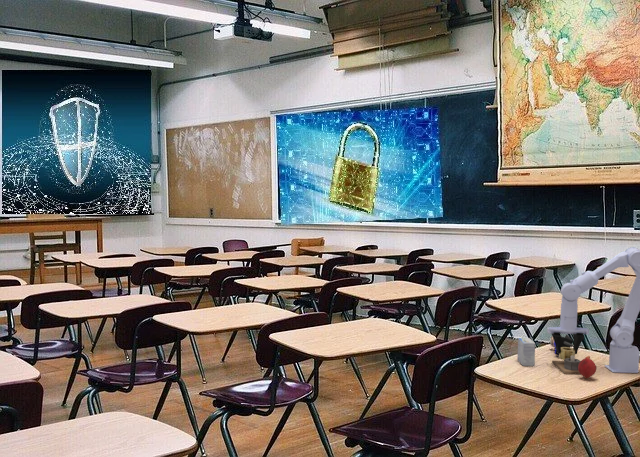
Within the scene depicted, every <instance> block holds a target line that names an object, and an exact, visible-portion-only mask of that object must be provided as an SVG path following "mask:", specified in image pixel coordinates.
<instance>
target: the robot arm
mask: <svg viewBox="0 0 640 457" xmlns="http://www.w3.org/2000/svg"><path fill="white" fill-rule="evenodd" d="M629 267H630V268H631V270H632V271H633V272H634V274H635V276H636V277H635V279H634V282H633V284H632V287H631V290H630V292H629V293H628V294H629V295H628V297H627V300H626V301H625V304H624V307H623V310H622V312H621V315H620V316H619V318H618V319H617V321H616V323H615V324H614V325H613V326H612V327H611V328H610V331H609V335H610V337H611V339H612V340H611V342H610V343H609V357H608V360H609V361H608V364H604V367H605V368H606V369H608V370H609V371H610V372H611V373H620V374H621V373H622V374H623V373H626V374H627V373H629V374H632V373H633V374H639V373H640V371H639V366H640V351H639V348H638V347H637V346H635V345H633V342H634V332H635V328H636V326H635V322H636V321H637V318H638V315H639V313H640V249H639V248H638V247H635V246H631V247H628V248H626V249H625V250H623V251H620V252H619V253H617V254H616V255H615V256H613V257H612V258H610V259H608V261H606V262H604V263H602V265H600V266H599V267H596V269H595V270H593V271H592V270H587V271H585V270H583V271H582V272H580V275H578V276H577V277H576V278H574V279H569V282H566V283H564V284H563V285H562V286H561V289H560V294H561V303H560V320H559V326H550V327H548V326H547V328H546V329H547V330H546V333H547V334H549V335H551V336H553V339H554V341H555V345H556V349H557V354H558V355H559V354H560V353H561V341H562V337H563V336H562V335H563V334H564V335H569V334H570V335H572V336H573V337H572V338H573V339H572V340H573V344H572V345H573V346H572V348H573V349H575V355H577V354H578V351H579V347H580V345H581V344H582V342H583V340H584V339H585V335H588V336H589V335H590V329H589V328H587V327H577V326H578V322H577V321H578V308H579V307H578V299H579V298H580V296H581V294H584V293H585V292H587V291H589V290H590V289H592V288H593V287H594V286H597V284H599V279H600V278H603V277H604V276H606V275H608V274H610V273H611V272H613V271H615V270H616V269H618V268H629ZM638 372H639V373H638Z"/></svg>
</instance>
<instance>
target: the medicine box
mask: <svg viewBox="0 0 640 457" xmlns="http://www.w3.org/2000/svg"><path fill="white" fill-rule="evenodd" d="M535 357H536V343H535V342H534V341H533V339H531V338H530V337H518V338H517V359H516V360H517V361H518V362H519V363H520V364H521V366H523V367H535V362H536V361H535V359H536V358H535Z"/></svg>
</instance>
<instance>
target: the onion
mask: <svg viewBox="0 0 640 457" xmlns="http://www.w3.org/2000/svg"><path fill="white" fill-rule="evenodd" d="M578 371H579V373H580V374H581V376H582V377H583V378H584V379H587V380H588V379H589V378H592V376H594V375H595V374H596V372H597V365H596V363H595V362H594V360H592V359H591V356H590V355H587V356H586V357H585V358H583V359H581V360H580V363H579V366H578Z"/></svg>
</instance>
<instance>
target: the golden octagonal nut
mask: <svg viewBox="0 0 640 457" xmlns="http://www.w3.org/2000/svg"><path fill="white" fill-rule="evenodd" d="M571 356H575V357H576V354H575V349H573V347H561V353H560V354H558V358H559V359H560V360H561V361H564V360H565V359H566V358H571Z"/></svg>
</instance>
